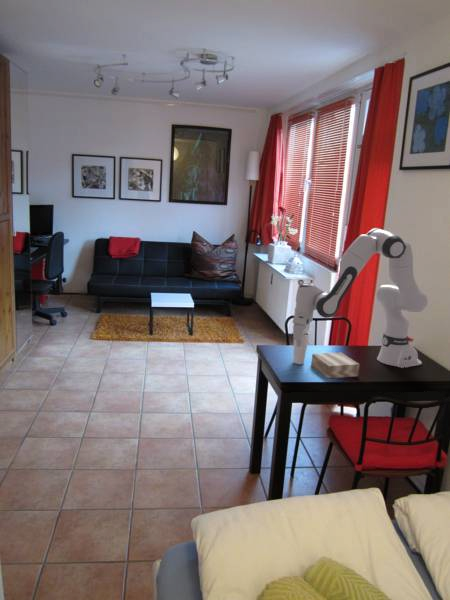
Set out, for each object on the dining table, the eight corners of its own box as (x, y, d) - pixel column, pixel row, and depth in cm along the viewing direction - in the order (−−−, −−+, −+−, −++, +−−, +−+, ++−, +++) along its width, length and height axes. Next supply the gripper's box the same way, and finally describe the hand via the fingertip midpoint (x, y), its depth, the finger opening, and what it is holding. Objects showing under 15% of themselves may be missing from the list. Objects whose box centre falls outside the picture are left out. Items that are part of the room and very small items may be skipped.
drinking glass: (305, 366, 245) (308, 336, 242) (291, 364, 246) (294, 334, 243) (305, 361, 252) (308, 332, 248) (292, 359, 253) (295, 330, 249)
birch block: (339, 363, 252) (341, 352, 251) (357, 376, 238) (359, 364, 236) (311, 365, 247) (312, 353, 246) (327, 378, 232) (329, 366, 231)
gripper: (301, 310, 254) (299, 337, 257) (292, 320, 235) (289, 348, 239) (314, 312, 252) (311, 339, 255) (305, 322, 233) (302, 351, 236)
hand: (300, 344), depth 247 cm, fingers closed on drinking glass, 7 cm apart
